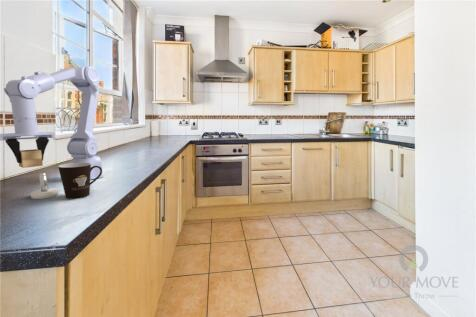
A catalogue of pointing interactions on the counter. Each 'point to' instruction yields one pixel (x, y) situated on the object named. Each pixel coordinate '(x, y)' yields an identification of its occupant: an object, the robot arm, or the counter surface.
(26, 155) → the hollow wooden cube
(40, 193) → the lacing stand
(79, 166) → the coffee mug
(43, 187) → the silver metal cylinder
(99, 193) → the counter surface
